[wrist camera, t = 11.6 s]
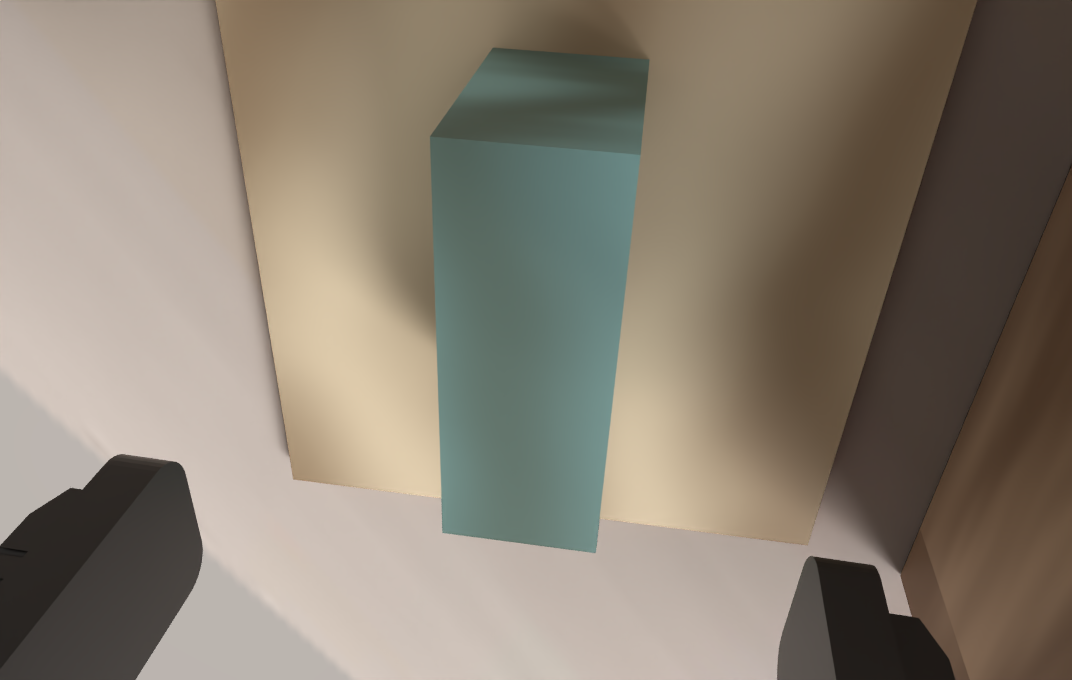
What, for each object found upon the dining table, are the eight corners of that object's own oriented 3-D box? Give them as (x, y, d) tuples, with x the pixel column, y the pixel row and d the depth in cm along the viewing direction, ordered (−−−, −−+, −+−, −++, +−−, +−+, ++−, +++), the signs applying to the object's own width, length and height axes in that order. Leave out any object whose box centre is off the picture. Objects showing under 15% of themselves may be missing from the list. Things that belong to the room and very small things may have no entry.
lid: (1008, -184, 14) (1201, -170, 9) (801, 512, 23) (838, 720, 18) (210, -222, 15) (-24, -229, 10) (309, 451, 24) (210, 628, 19)
